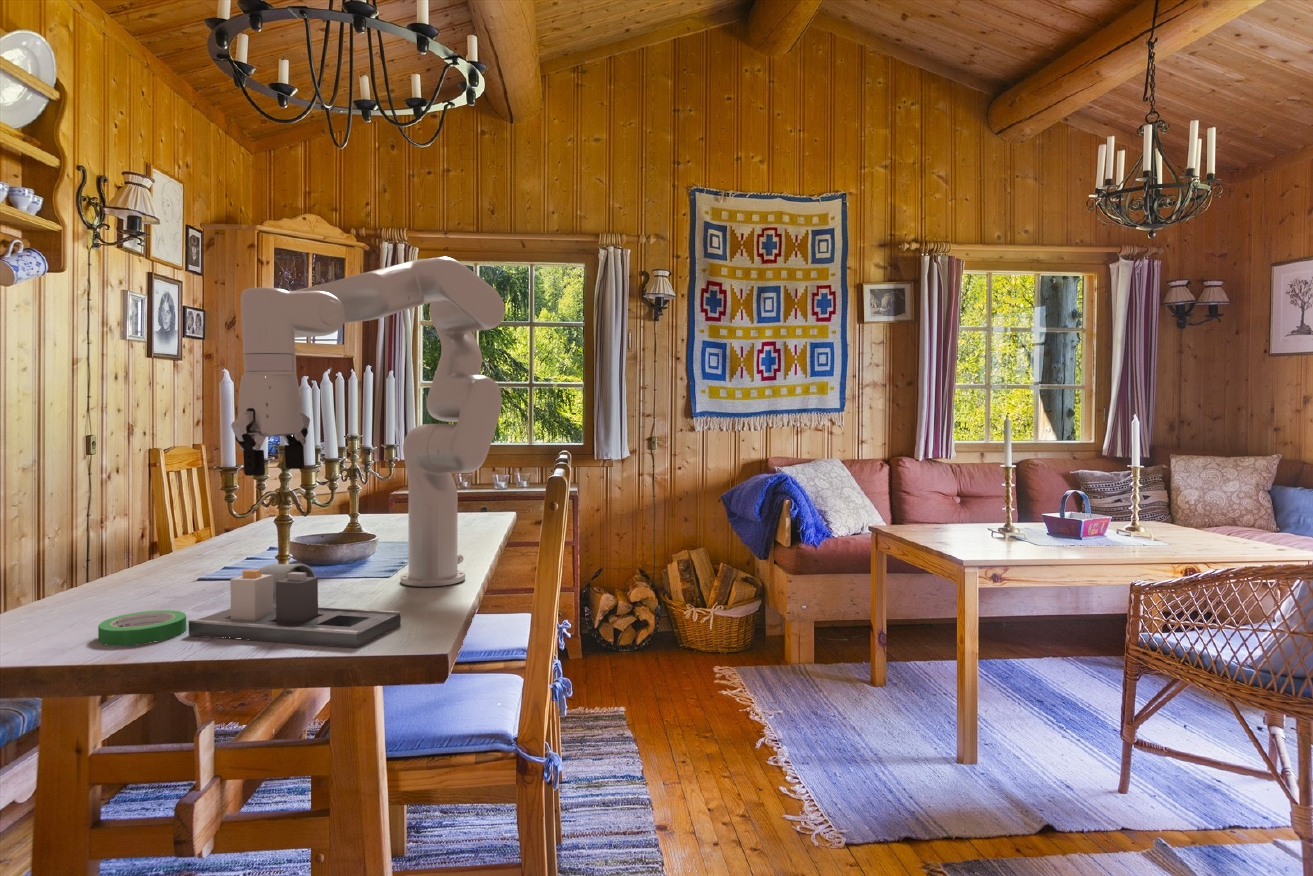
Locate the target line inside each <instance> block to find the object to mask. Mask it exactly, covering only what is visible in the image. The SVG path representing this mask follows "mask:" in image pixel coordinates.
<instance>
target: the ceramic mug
mask: <svg viewBox="0 0 1313 876" xmlns="http://www.w3.org/2000/svg"><path fill="white" fill-rule="evenodd" d="M259 570H261V573H262V574H265V575H273V604H276V582H277V581H280V580H283V579H286V578H288V573H291V572H302V573H306V577H316V575H315V573H314V570H313V569H312V568H311V567H310V566H309V565H307V564H304V563H284V564H283V563H274V564H269V565H265V566H262V567H261V568H259Z"/></svg>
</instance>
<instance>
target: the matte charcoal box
mask: <svg viewBox="0 0 1313 876" xmlns="http://www.w3.org/2000/svg"><path fill="white" fill-rule="evenodd" d="M318 588H319V577H316V576H315V577H306V573H302V572H291V573H288V578H286V579H283V580H280V581H277V582H276V622H284V623H299V624H302V623H305V622H307V621H310V620H312V619H315V618H317V617H318V606H319V589H318Z"/></svg>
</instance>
